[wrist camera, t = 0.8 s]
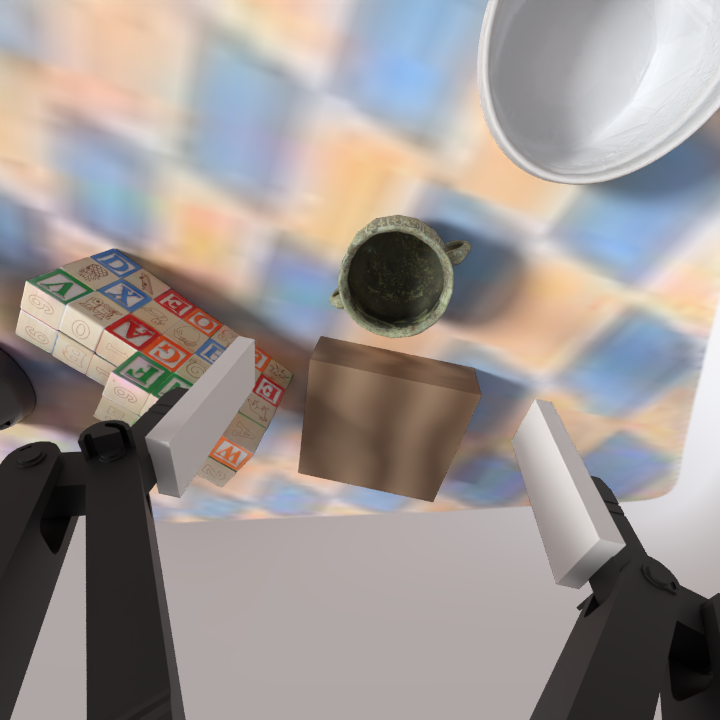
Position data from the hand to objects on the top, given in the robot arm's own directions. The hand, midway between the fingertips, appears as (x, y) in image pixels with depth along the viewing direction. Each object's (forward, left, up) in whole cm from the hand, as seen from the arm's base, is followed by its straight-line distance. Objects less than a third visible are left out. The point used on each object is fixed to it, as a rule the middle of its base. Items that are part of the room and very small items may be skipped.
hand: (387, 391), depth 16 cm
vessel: (0, +1, -18) cm, 18 cm away
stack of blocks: (-20, -11, -18) cm, 29 cm away
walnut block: (+2, -16, -18) cm, 24 cm away
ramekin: (+8, +16, -18) cm, 25 cm away
